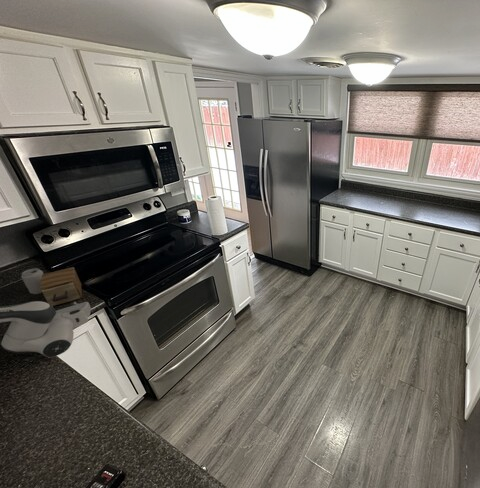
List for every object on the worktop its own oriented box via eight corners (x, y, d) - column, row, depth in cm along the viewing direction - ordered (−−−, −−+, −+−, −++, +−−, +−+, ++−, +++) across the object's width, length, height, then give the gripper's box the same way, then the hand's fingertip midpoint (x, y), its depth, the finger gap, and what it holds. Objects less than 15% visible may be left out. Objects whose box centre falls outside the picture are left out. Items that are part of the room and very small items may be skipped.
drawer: (79, 304, 126) (72, 288, 123) (49, 313, 120) (40, 297, 116) (79, 285, 140) (72, 271, 136) (51, 293, 133) (44, 278, 129)
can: (49, 292, 135) (38, 272, 130) (28, 296, 132) (17, 276, 126) (52, 285, 141) (42, 265, 136) (32, 289, 137) (21, 269, 132)
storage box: (81, 297, 133) (73, 279, 128) (49, 306, 126) (39, 287, 121) (81, 284, 143) (73, 267, 138) (51, 292, 136) (42, 274, 131)
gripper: (25, 342, 102) (29, 323, 111) (93, 320, 114) (91, 304, 123) (17, 330, 99) (22, 311, 109) (87, 308, 111) (86, 293, 121)
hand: (59, 307), depth 116 cm, fingers open, 8 cm apart
